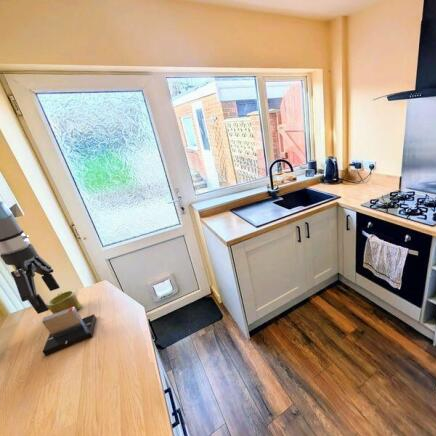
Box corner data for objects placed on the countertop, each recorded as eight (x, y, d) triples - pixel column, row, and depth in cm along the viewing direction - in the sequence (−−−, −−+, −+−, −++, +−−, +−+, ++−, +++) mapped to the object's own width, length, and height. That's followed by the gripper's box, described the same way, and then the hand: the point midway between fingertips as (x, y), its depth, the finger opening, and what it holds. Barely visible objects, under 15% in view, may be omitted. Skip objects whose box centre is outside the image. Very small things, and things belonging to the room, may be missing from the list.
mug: (84, 308, 106) (65, 292, 102) (59, 326, 102) (38, 310, 98) (89, 297, 116) (72, 282, 112) (66, 313, 113) (48, 298, 109)
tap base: (44, 358, 87) (40, 353, 86) (55, 332, 97) (51, 328, 96) (92, 339, 93) (89, 334, 92) (97, 316, 103) (94, 312, 102)
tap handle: (54, 339, 91) (41, 321, 87) (56, 334, 93) (43, 316, 89) (83, 327, 95) (72, 309, 91) (84, 323, 97) (73, 306, 93)
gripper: (15, 262, 70) (52, 317, 79) (43, 231, 90) (70, 277, 99) (-22, 272, 67) (22, 328, 76) (16, 237, 87) (47, 285, 96)
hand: (49, 299), depth 87 cm, fingers open, 13 cm apart
